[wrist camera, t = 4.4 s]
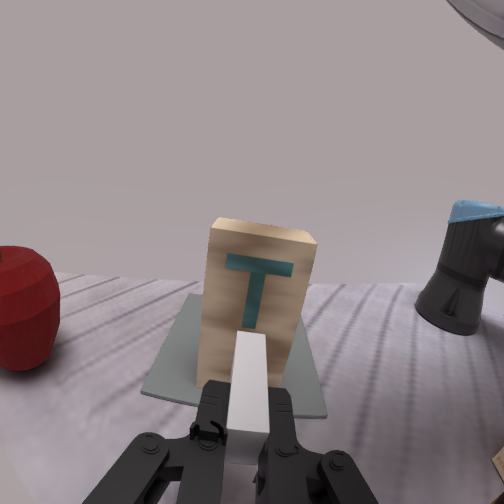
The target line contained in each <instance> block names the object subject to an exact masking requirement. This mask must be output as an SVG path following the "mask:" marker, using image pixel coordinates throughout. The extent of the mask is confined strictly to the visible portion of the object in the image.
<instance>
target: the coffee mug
mask: <svg viewBox="0 0 504 504" xmlns="http://www.w3.org/2000/svg"><path fill="white" fill-rule="evenodd" d="M491 504H504V492H503V493H502V494H501V495H500V496H499V497H498V498H497V499H496V500H495V501H494V502H492V503H491Z"/></svg>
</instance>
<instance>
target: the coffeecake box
mask: <svg viewBox="0 0 504 504" xmlns="http://www.w3.org/2000/svg"><path fill="white" fill-rule="evenodd" d="M492 461H493V463H494V465H495V467H496V468H497V470H498V472H499V474H500V476H501V477H502V479H503V481H504V447H503V448H502V449H501V450H500V451H499V452H498V453H497V454H496V455H495V456H494V457H493V458H492Z"/></svg>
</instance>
